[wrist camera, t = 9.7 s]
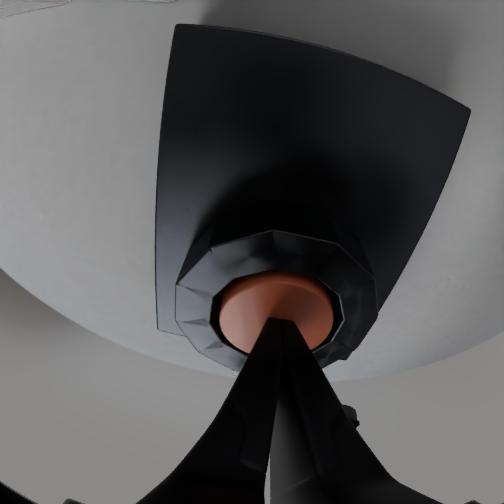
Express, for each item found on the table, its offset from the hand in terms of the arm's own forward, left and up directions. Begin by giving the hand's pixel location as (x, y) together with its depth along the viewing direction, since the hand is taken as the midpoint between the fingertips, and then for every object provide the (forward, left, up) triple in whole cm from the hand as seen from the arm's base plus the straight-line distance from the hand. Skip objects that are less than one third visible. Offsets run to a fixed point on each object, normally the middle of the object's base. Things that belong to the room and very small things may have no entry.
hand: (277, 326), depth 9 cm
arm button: (0, 0, -2) cm, 2 cm away
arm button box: (+2, 0, -4) cm, 5 cm away
